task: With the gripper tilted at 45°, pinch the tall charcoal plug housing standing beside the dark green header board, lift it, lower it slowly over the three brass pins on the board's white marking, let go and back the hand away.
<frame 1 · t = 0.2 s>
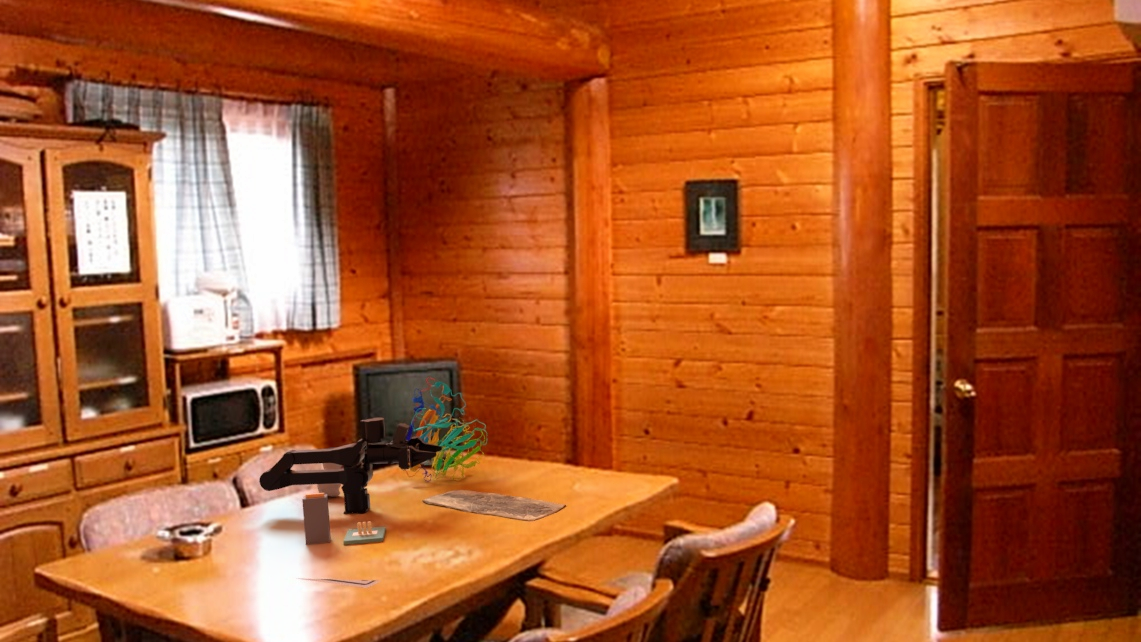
hand: (439, 451, 292), 17 cm above the table, tool horizontal, fingers open, 9 cm apart
header board: (365, 537, 266), on the table
figurine: (331, 496, 315), on the table
relief sculpture: (493, 505, 293), on the table
sign: (332, 574, 237), on the table
plug housing: (318, 541, 264), on the table
protein model: (445, 477, 333), on the table
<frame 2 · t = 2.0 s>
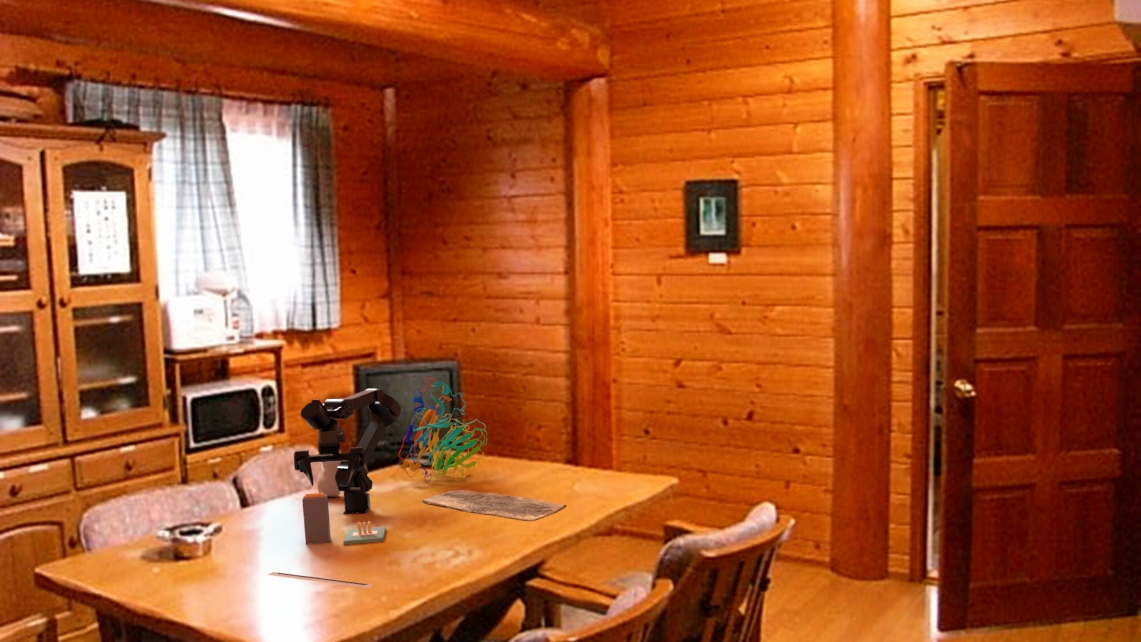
hand: (330, 483, 270), 14 cm above the table, tool tilted 50°, fingers open, 9 cm apart
nothing on the table moved.
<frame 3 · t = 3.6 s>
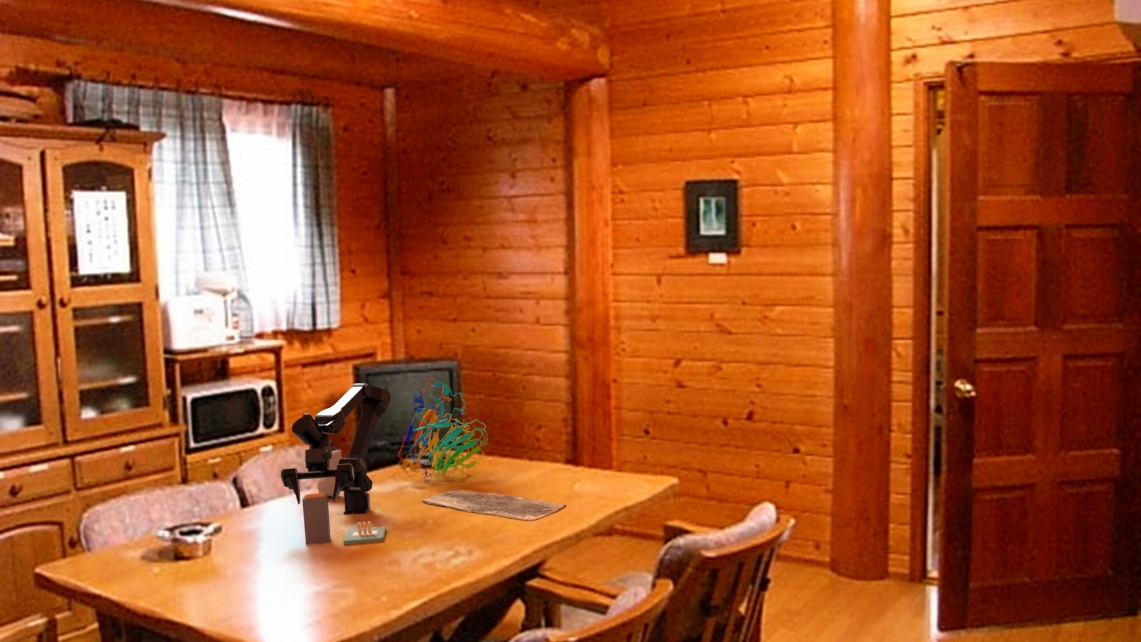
hand: (316, 502, 266), 10 cm above the table, tool tilted 45°, fingers open, 9 cm apart
nothing on the table moved.
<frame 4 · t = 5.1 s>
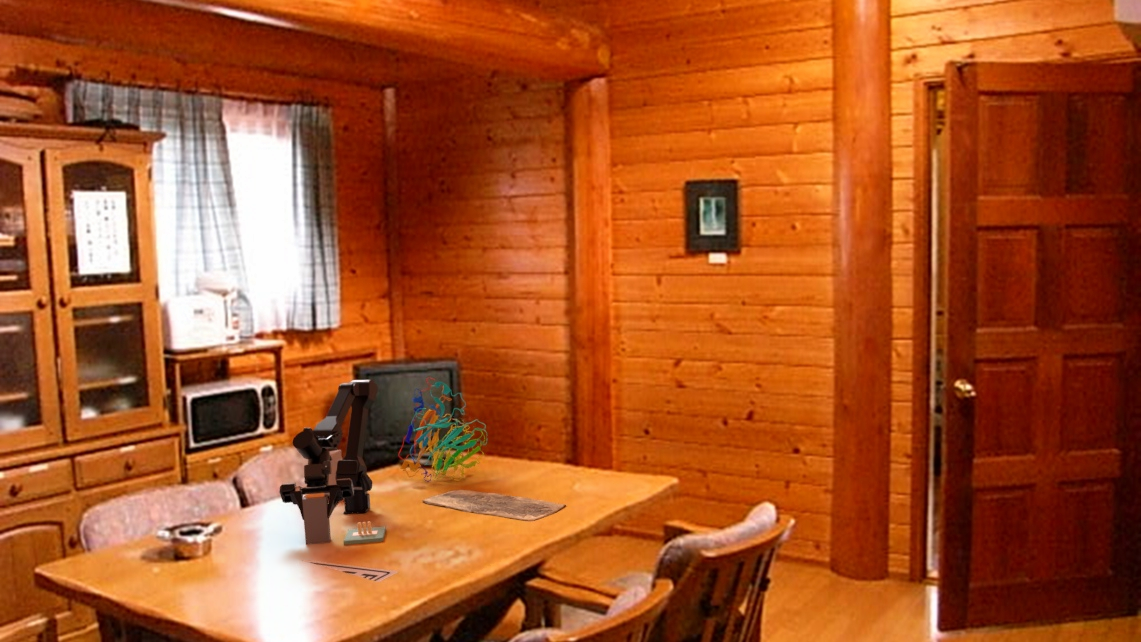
hand: (315, 518, 263), 7 cm above the table, tool tilted 45°, fingers closed on plug housing, 6 cm apart
plug housing: (318, 541, 264), on the table, touching gripper
everything else where it was.
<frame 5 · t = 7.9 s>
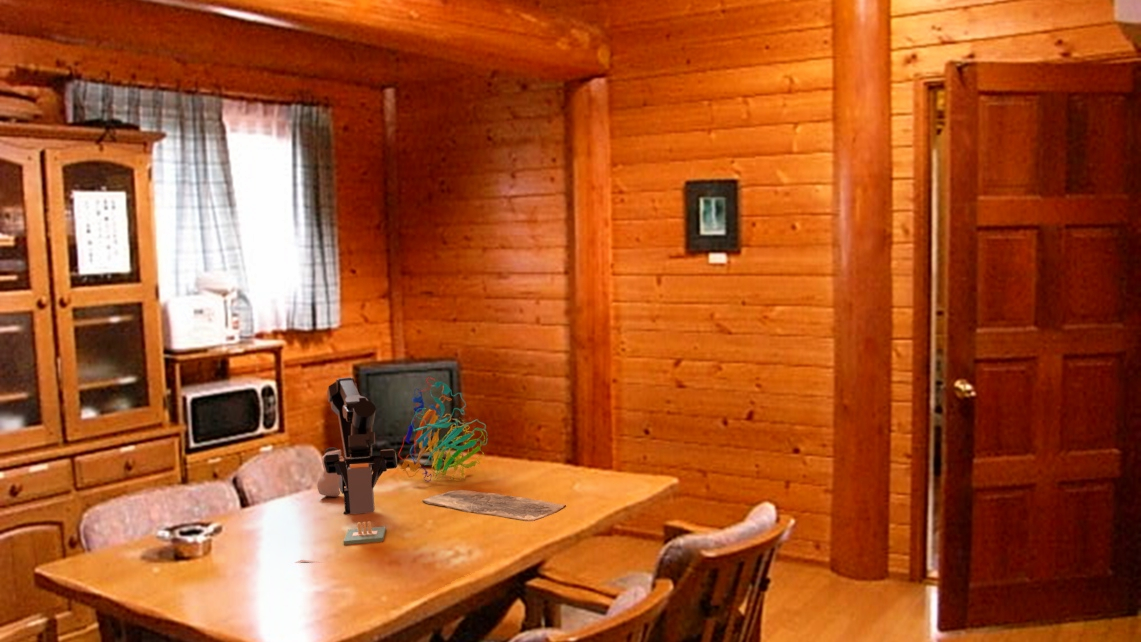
hand: (360, 488, 264), 14 cm above the table, tool tilted 45°, fingers closed on plug housing, 6 cm apart
plug housing: (362, 511, 266), point 7 cm above the table, touching gripper
everything else where it was.
when the fingers open (9 cm above the table, at t = 10.6 s): plug housing stays where it is, resting on header board.
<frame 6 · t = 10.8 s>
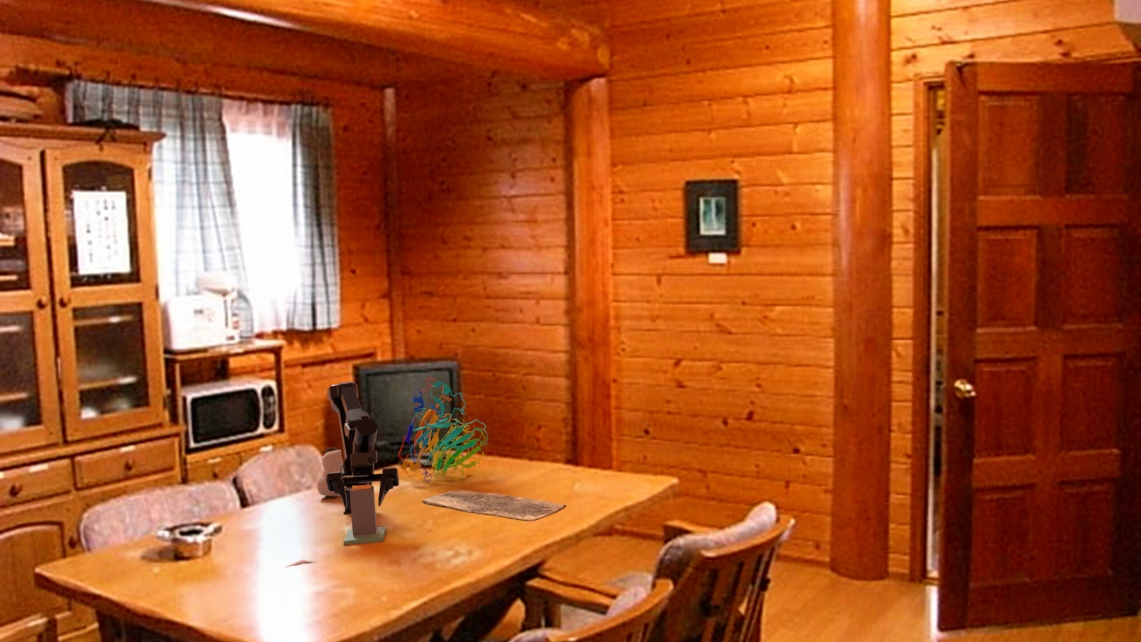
hand: (362, 506, 264), 9 cm above the table, tool tilted 45°, fingers open, 8 cm apart
plug housing: (365, 533, 266), point 1 cm above the table, touching header board
everything else where it was.
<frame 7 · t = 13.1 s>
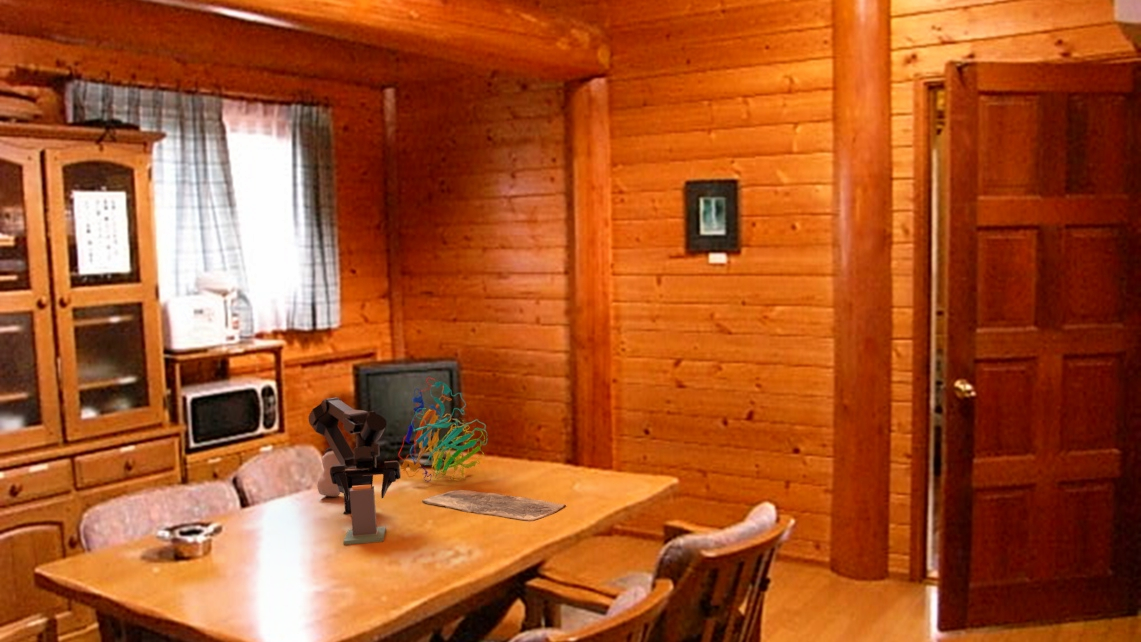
hand: (365, 498, 273), 9 cm above the table, tool tilted 45°, fingers open, 9 cm apart
nothing on the table moved.
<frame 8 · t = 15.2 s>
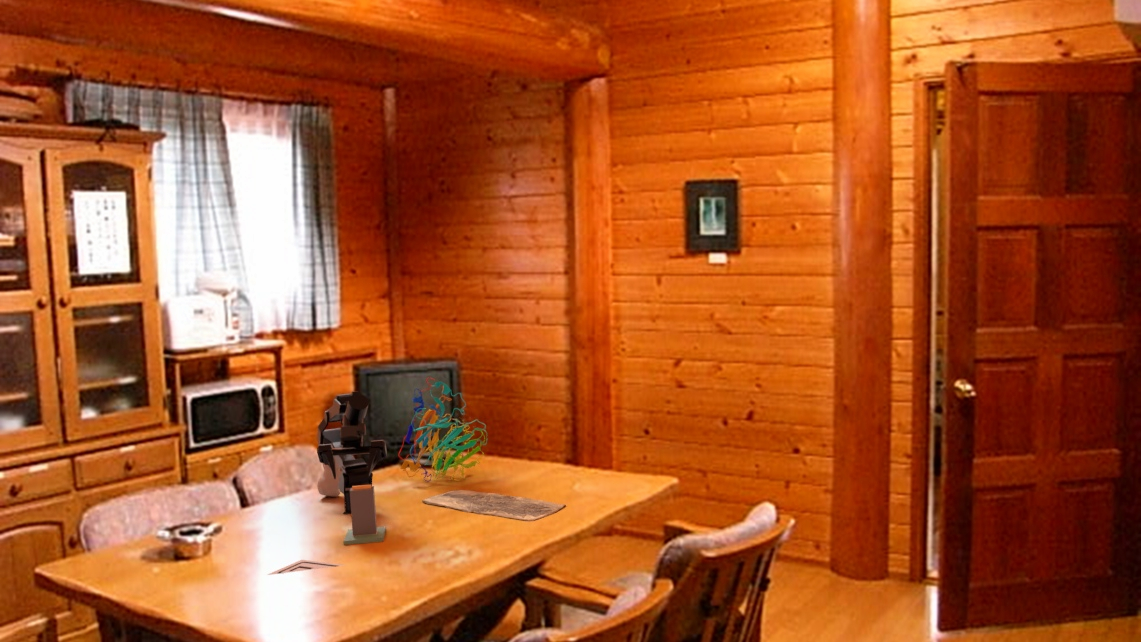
hand: (351, 476, 278), 14 cm above the table, tool tilted 45°, fingers open, 9 cm apart
nothing on the table moved.
at the end: plug housing 0.0 cm off-centre on the header board, point 1.1 cm above the header board's base; plug housing tilted 0°; the gripper is holding nothing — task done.
